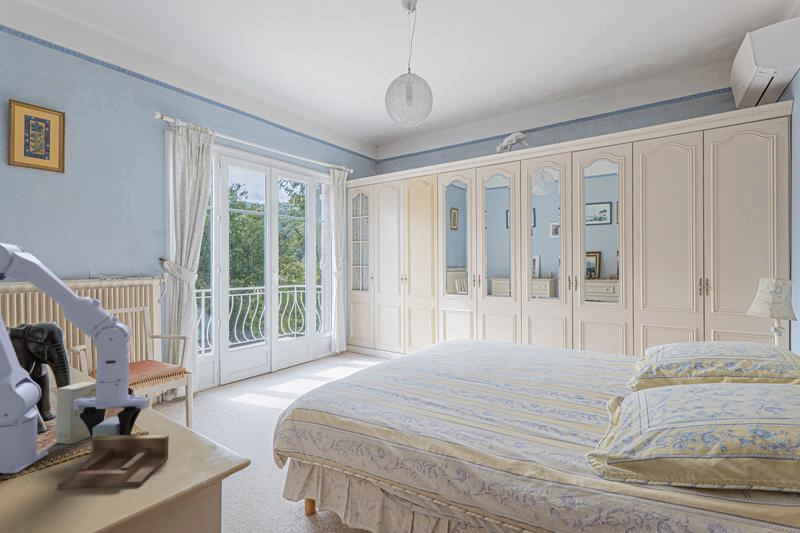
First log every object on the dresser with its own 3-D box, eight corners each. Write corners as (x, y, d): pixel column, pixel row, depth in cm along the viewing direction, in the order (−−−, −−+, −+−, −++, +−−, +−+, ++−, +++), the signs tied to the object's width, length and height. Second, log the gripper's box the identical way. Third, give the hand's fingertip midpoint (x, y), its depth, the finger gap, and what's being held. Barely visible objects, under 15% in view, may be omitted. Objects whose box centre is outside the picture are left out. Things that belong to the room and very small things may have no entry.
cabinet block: (89, 458, 83) (89, 429, 83) (110, 443, 90) (110, 416, 90) (109, 457, 83) (110, 428, 83) (129, 443, 90) (129, 416, 90)
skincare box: (71, 445, 88) (72, 389, 88) (54, 443, 89) (55, 388, 89) (97, 433, 95) (98, 381, 95) (82, 431, 96) (83, 380, 95)
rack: (57, 488, 72) (58, 460, 72) (96, 459, 82) (97, 435, 82) (140, 486, 73) (140, 459, 73) (168, 458, 83) (168, 434, 83)
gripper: (62, 384, 82) (61, 450, 82) (137, 384, 84) (136, 449, 84) (86, 375, 89) (85, 436, 89) (155, 374, 91) (154, 435, 91)
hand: (111, 441), depth 87 cm, fingers open, 5 cm apart
